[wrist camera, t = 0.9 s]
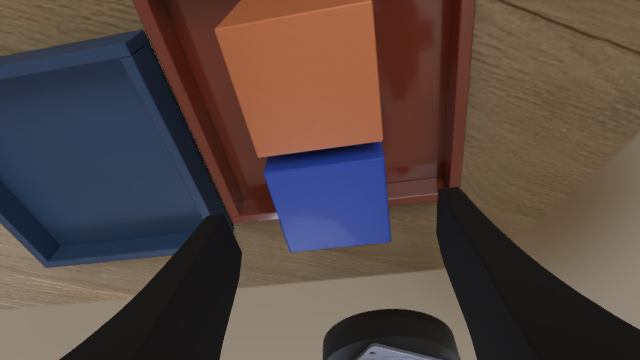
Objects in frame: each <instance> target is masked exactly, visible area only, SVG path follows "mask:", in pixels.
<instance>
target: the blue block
mask: <svg viewBox="0 0 640 360" xmlns="http://www.w3.org/2000/svg"><path fill="white" fill-rule="evenodd" d="M264 177H265V180H266V183H267V186H268V189H269V192H270V195H271V198H272V201H273V204H274V206H275V209H276V212H277V215H278V218H279V221H280V224H281V227H282V230H283V233H284V236H285V239H286V242H287V245H288V248H289V250H290V252H298V251H308V250H318V249H328V248H338V247H349V246H359V245H369V244H379V243H389V242H391V232H390V219H389V207H388V194H387V181H386V169H385V158H384V153H383V148H382V143H381V141H380V142H373V143H365V144H358V145H350V146H343V147H335V148H328V149H320V150H313V151H306V152H298V153H291V154H283V155H276V156H268V157H267V161H266V165H265V169H264Z"/></svg>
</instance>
